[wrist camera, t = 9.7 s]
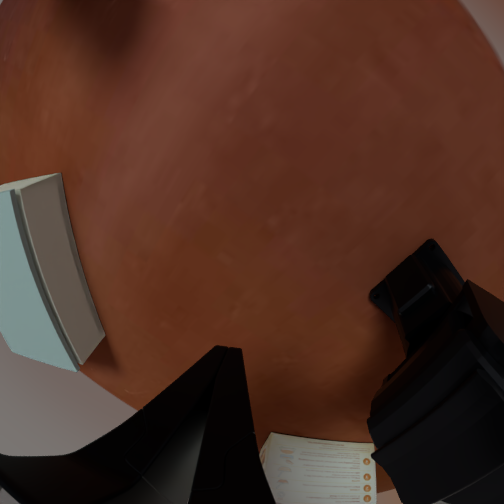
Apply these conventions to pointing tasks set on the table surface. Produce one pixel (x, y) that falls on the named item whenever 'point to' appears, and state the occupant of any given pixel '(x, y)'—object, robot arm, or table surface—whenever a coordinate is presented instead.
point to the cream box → (58, 261)
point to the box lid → (26, 296)
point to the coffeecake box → (318, 470)
